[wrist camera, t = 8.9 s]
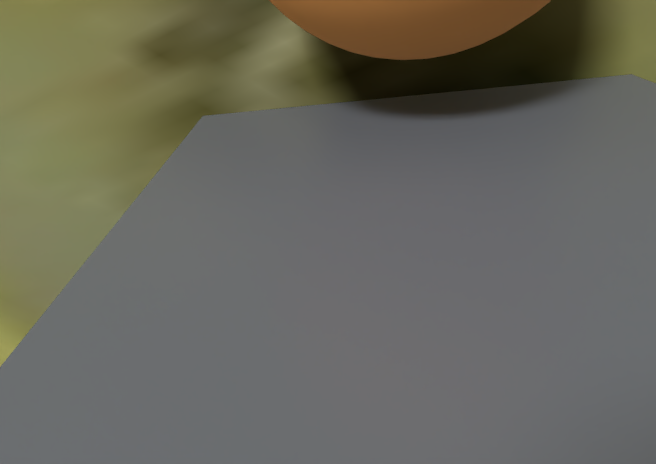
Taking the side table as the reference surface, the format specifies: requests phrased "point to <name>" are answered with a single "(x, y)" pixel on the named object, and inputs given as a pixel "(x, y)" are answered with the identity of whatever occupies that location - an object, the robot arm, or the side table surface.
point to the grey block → (367, 292)
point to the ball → (407, 24)
